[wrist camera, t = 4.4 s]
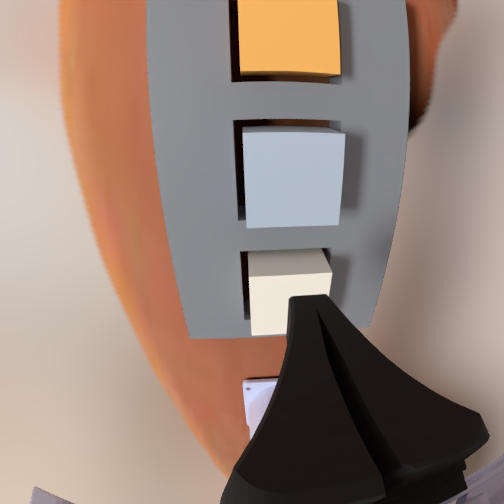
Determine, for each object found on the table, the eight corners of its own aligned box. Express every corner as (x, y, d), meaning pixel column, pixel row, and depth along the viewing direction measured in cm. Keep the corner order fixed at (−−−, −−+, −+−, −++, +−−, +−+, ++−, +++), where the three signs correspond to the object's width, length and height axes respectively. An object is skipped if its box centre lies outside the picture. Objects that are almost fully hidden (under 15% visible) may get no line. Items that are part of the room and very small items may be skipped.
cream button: (314, 302, 18) (322, 330, 16) (250, 306, 18) (251, 335, 16) (320, 246, 16) (332, 272, 14) (247, 249, 16) (248, 277, 13)
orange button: (323, 77, 12) (340, 74, 10) (240, 76, 12) (240, 71, 9) (321, 7, 10) (336, -8, 8) (237, 3, 10) (237, -14, 7)
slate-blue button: (324, 204, 14) (338, 225, 12) (245, 206, 14) (246, 228, 12) (327, 127, 12) (345, 134, 10) (242, 126, 12) (242, 133, 10)
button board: (360, 308, 20) (369, 327, 18) (193, 318, 20) (190, 338, 18) (386, -7, 9) (402, -16, 7) (158, -14, 9) (147, -27, 7)
